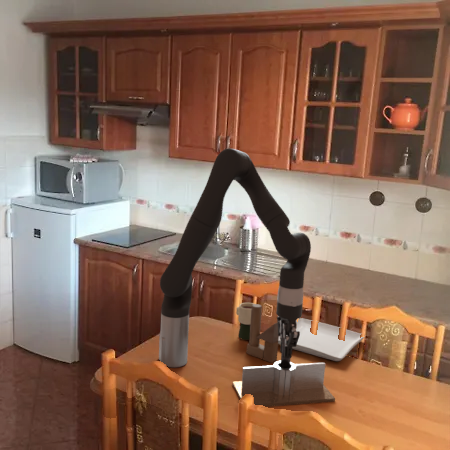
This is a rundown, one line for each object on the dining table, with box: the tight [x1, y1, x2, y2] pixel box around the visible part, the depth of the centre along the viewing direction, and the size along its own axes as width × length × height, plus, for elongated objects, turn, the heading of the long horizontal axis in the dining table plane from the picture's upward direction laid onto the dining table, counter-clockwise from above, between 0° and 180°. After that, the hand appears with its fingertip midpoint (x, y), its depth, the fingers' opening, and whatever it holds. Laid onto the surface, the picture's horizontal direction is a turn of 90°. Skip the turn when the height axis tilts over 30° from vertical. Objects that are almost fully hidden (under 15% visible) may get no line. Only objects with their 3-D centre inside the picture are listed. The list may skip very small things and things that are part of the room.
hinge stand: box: [232, 360, 336, 408], centre depth 161 cm, size 28×14×9 cm, turn 103°
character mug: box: [235, 302, 254, 341], centre depth 200 cm, size 11×7×13 cm, turn 50°
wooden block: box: [246, 303, 279, 364], centre depth 184 cm, size 4×11×18 cm, turn 52°
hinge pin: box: [280, 337, 291, 368], centre depth 159 cm, size 3×3×10 cm
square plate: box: [278, 317, 364, 362], centre depth 199 cm, size 27×27×4 cm
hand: (285, 354), depth 160 cm, fingers closed on hinge pin, 2 cm apart
